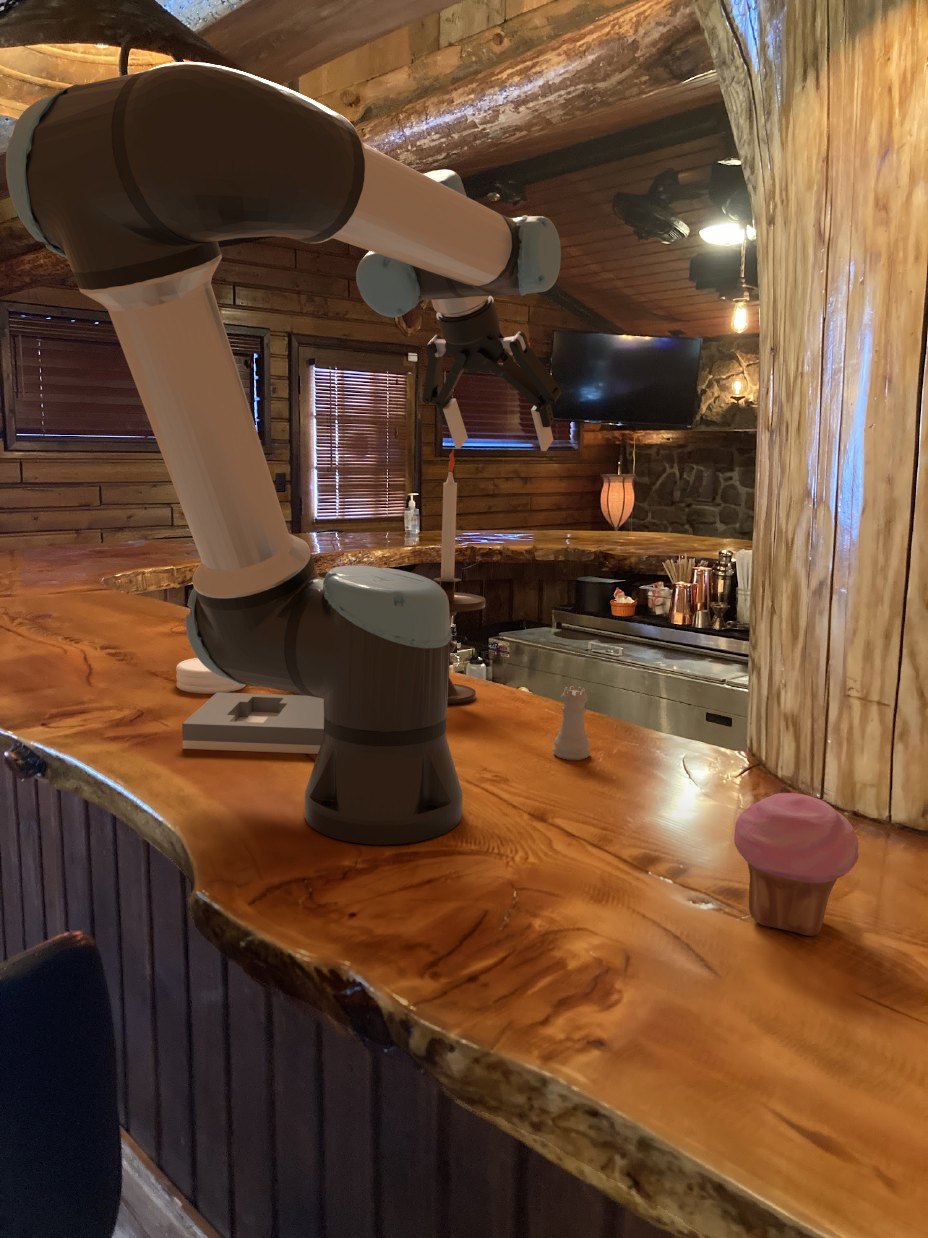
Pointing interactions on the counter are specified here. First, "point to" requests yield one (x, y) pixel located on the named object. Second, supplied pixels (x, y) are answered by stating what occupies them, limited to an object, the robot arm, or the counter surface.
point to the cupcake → (794, 859)
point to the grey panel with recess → (256, 723)
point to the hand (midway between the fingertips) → (503, 444)
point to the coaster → (202, 679)
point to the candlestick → (447, 581)
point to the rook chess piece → (572, 727)
